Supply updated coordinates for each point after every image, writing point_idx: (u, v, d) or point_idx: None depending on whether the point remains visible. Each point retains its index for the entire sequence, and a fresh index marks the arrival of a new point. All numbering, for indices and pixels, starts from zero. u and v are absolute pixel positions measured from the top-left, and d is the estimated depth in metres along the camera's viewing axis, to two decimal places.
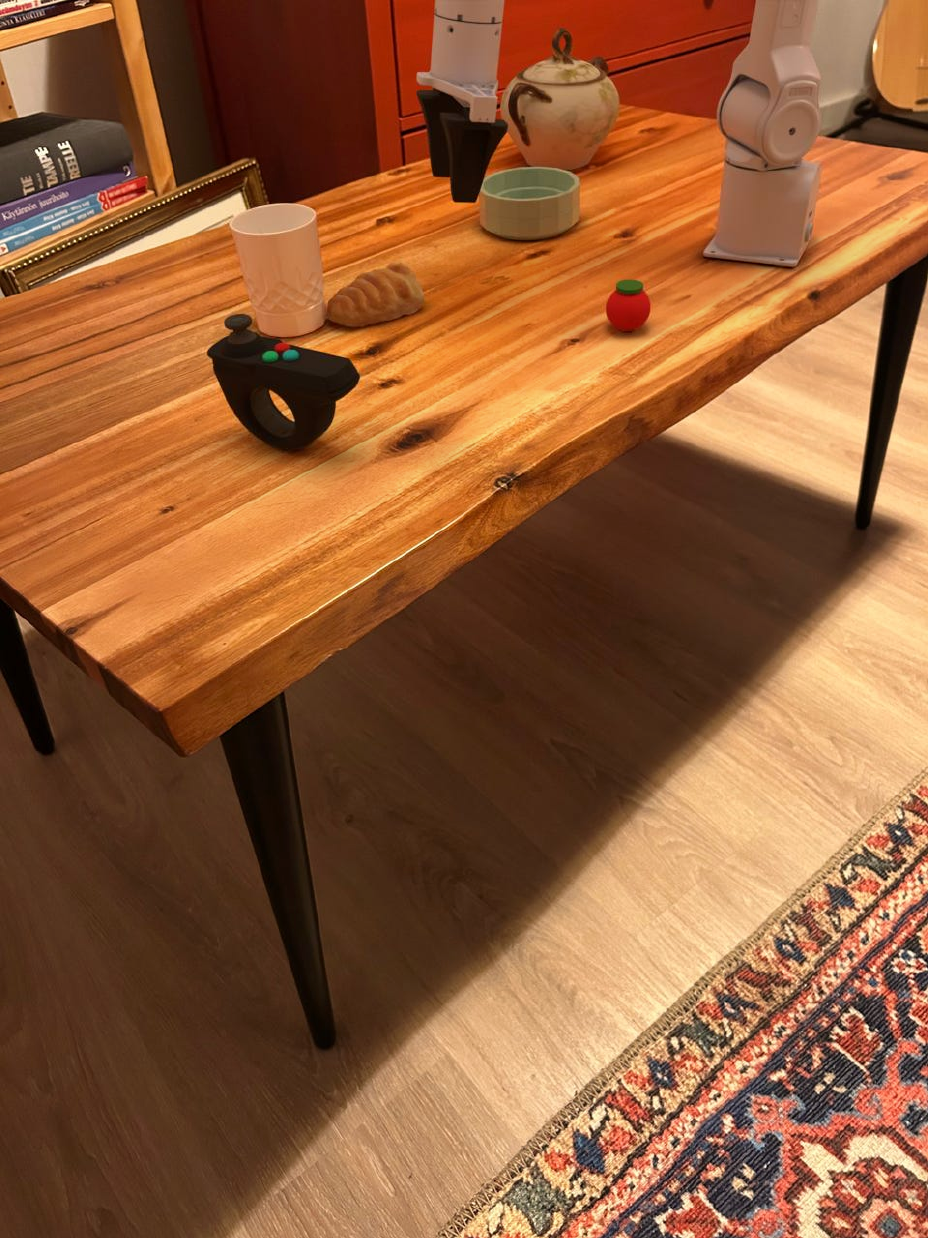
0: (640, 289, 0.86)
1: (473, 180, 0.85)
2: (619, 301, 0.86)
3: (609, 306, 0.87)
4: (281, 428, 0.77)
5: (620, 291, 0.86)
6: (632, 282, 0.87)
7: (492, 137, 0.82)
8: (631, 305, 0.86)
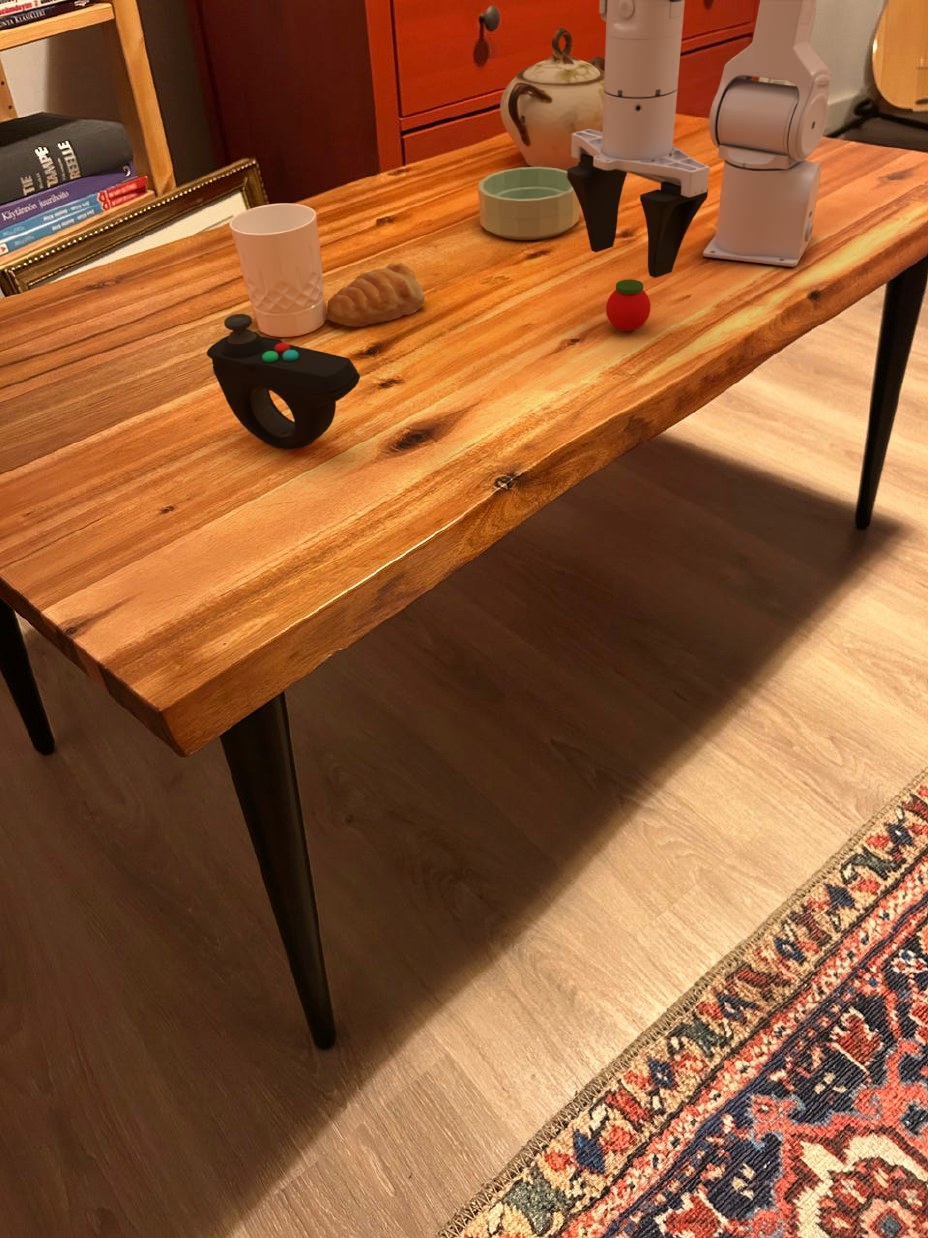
0: (640, 289, 0.86)
1: (671, 251, 0.81)
2: (619, 301, 0.86)
3: (609, 306, 0.87)
4: (281, 428, 0.77)
5: (620, 291, 0.86)
6: (632, 282, 0.87)
7: (695, 205, 0.78)
8: (631, 305, 0.86)
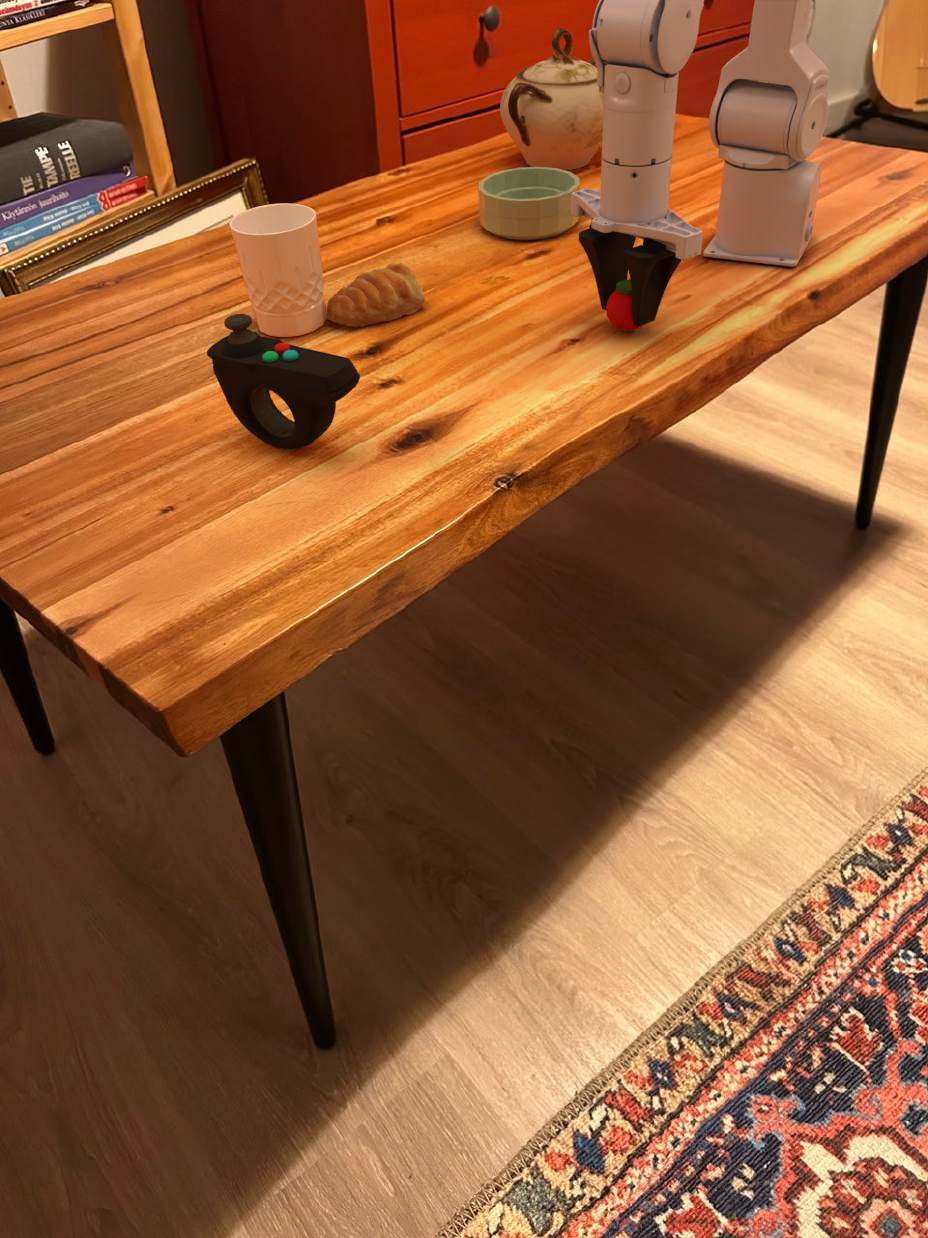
0: None
1: (654, 301, 0.85)
2: (619, 301, 0.86)
3: (609, 306, 0.87)
4: (281, 428, 0.77)
5: (620, 291, 0.86)
6: None
7: (676, 259, 0.82)
8: (631, 306, 0.86)
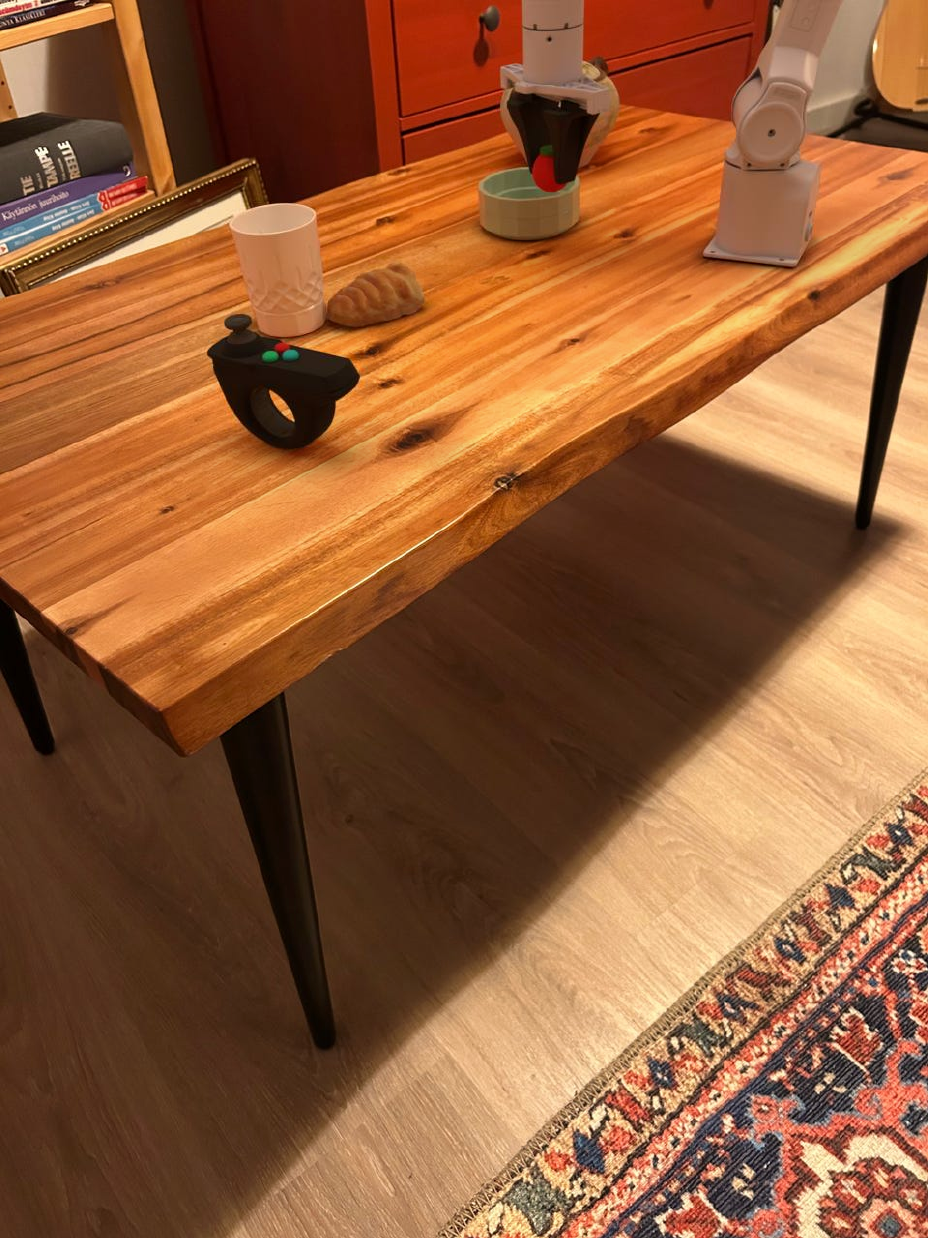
0: None
1: (573, 161, 0.97)
2: (543, 162, 0.97)
3: (534, 168, 0.98)
4: (281, 428, 0.77)
5: (543, 153, 0.97)
6: None
7: (590, 120, 0.94)
8: (553, 166, 0.97)
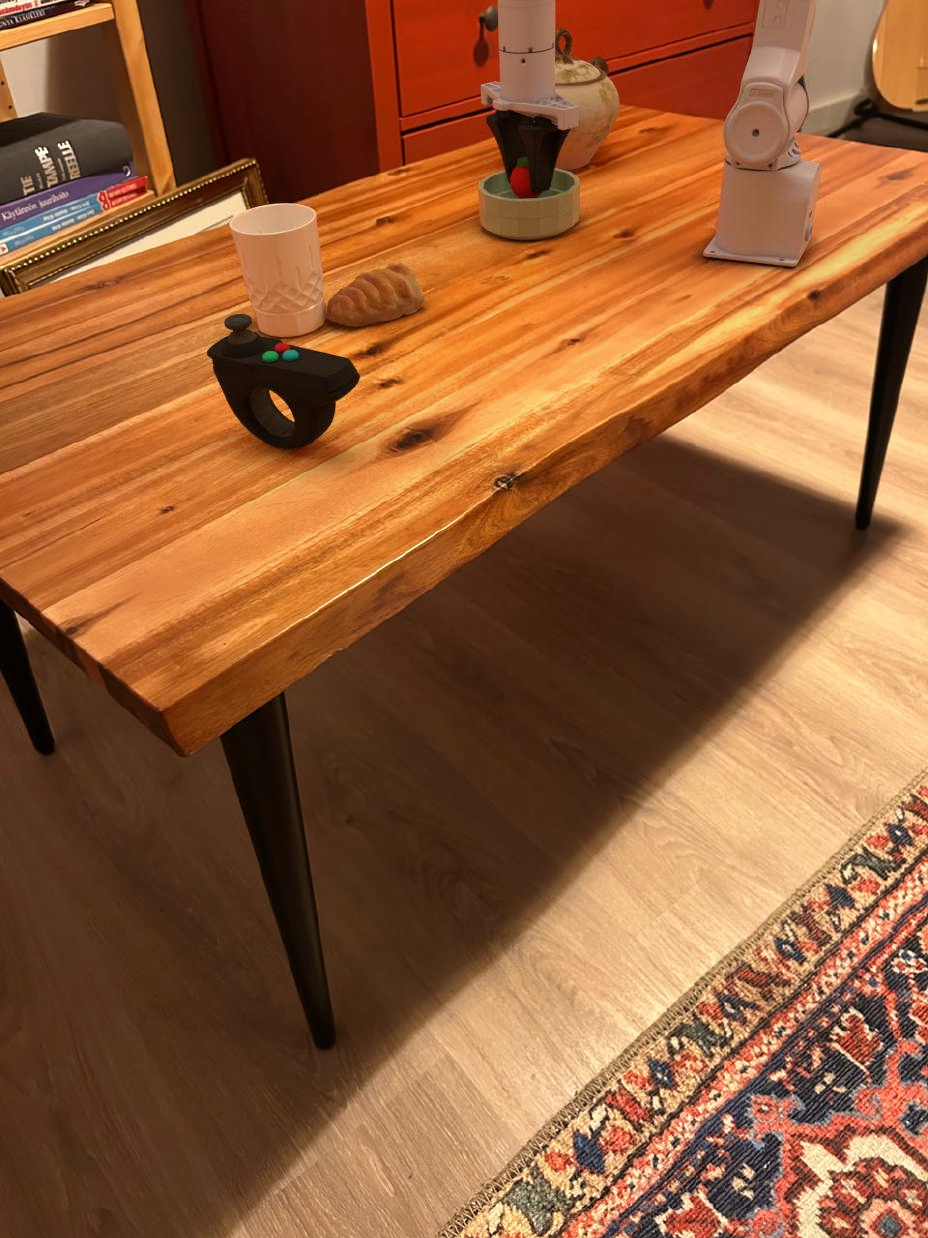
0: None
1: (547, 172, 1.05)
2: (519, 173, 1.05)
3: (512, 178, 1.06)
4: (281, 428, 0.77)
5: (520, 165, 1.05)
6: None
7: (562, 134, 1.02)
8: (528, 176, 1.05)
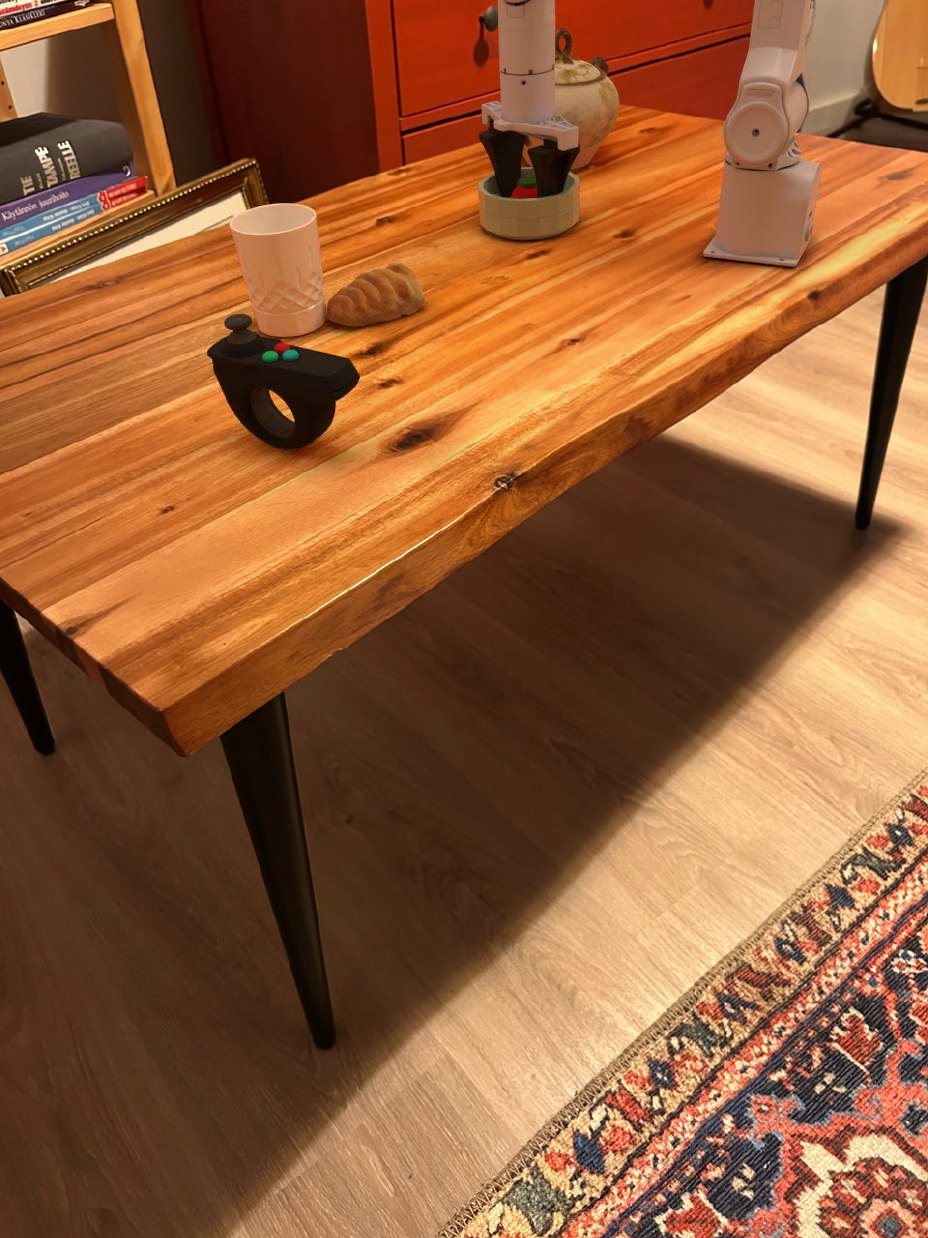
0: (536, 183, 1.07)
1: (556, 194, 1.05)
2: (520, 193, 1.07)
3: None
4: (281, 428, 0.77)
5: (520, 185, 1.07)
6: (531, 178, 1.07)
7: (571, 157, 1.02)
8: (529, 196, 1.07)
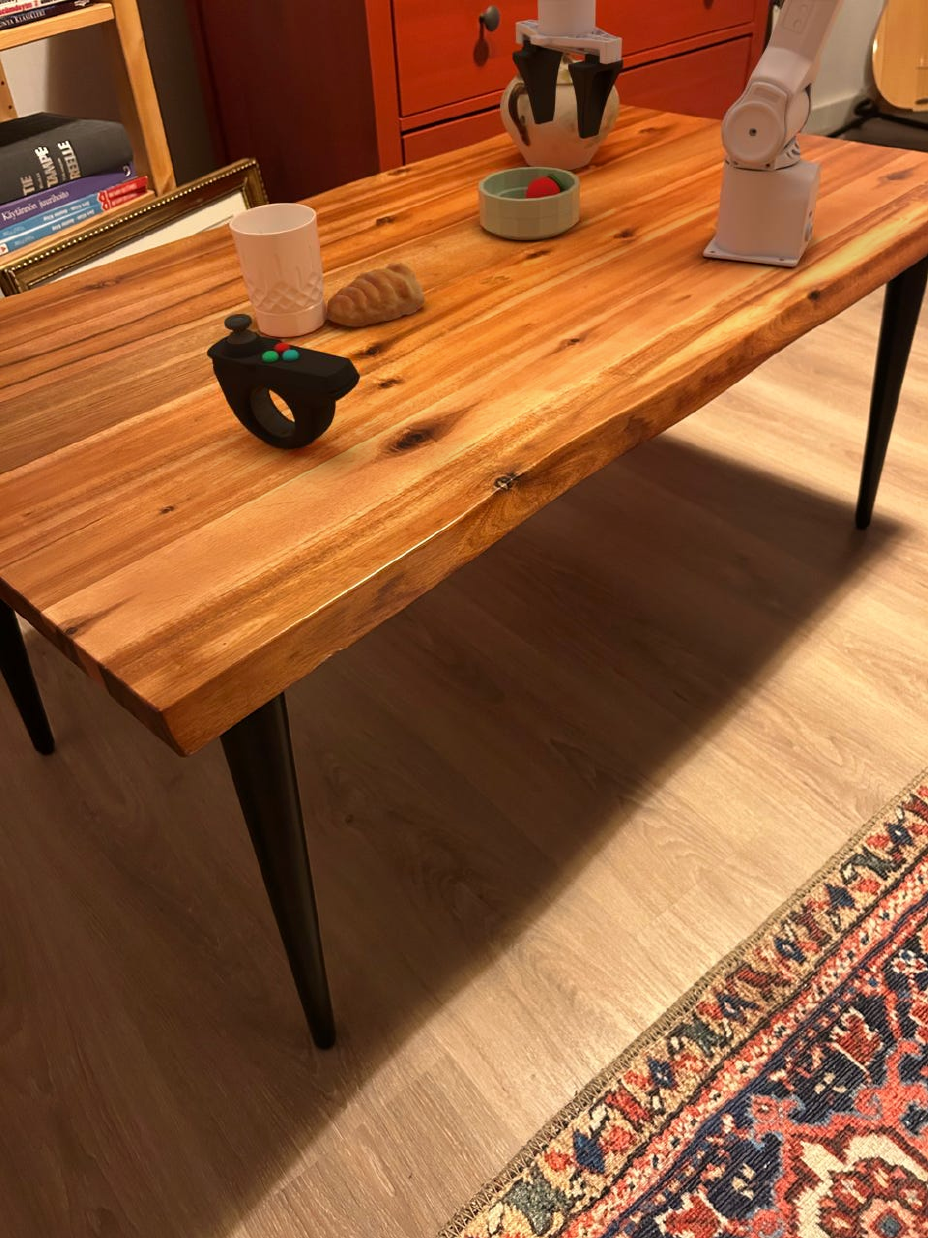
0: (562, 187, 1.09)
1: (596, 115, 0.99)
2: (547, 178, 1.08)
3: (537, 178, 1.08)
4: (281, 428, 0.77)
5: (551, 176, 1.08)
6: None
7: (613, 73, 0.96)
8: (553, 186, 1.08)
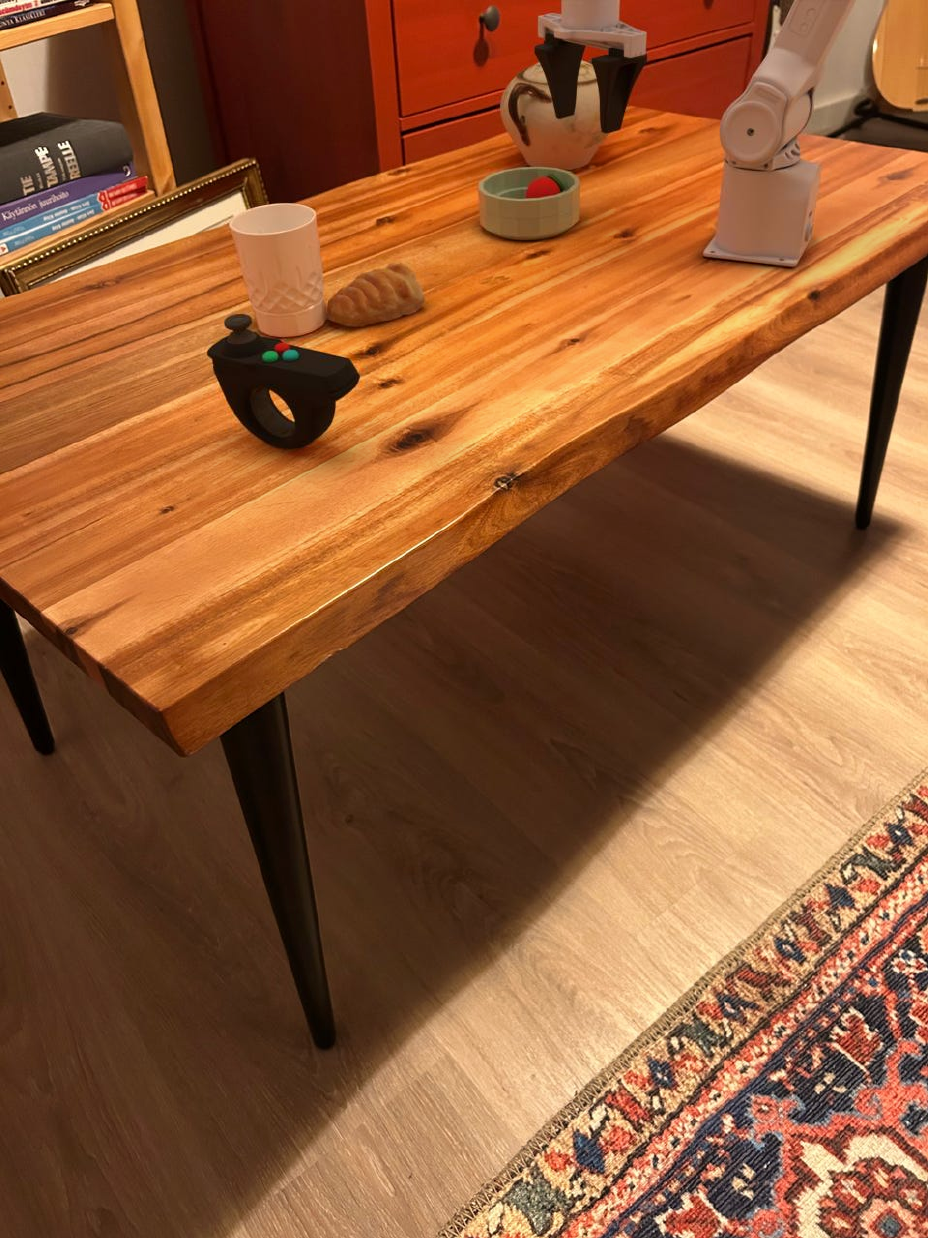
0: (562, 187, 1.09)
1: (619, 110, 0.99)
2: (547, 178, 1.08)
3: (537, 178, 1.08)
4: (281, 428, 0.77)
5: (551, 176, 1.08)
6: None
7: (637, 68, 0.96)
8: (553, 186, 1.08)
